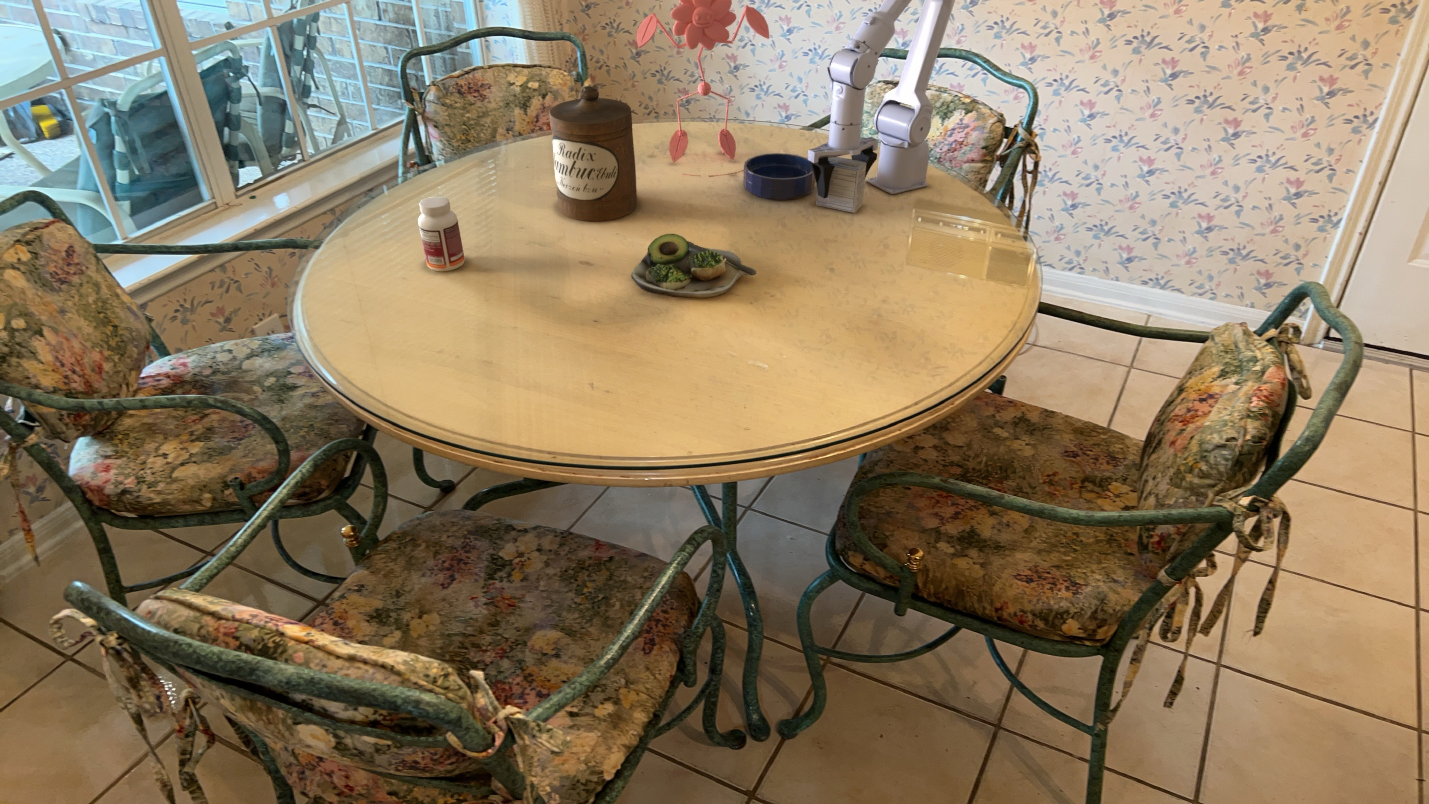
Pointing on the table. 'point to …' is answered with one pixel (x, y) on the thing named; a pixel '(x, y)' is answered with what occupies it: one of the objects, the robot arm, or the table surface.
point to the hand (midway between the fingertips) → (839, 192)
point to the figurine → (705, 25)
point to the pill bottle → (440, 234)
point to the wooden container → (594, 157)
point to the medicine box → (845, 185)
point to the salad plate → (687, 269)
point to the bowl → (778, 176)
